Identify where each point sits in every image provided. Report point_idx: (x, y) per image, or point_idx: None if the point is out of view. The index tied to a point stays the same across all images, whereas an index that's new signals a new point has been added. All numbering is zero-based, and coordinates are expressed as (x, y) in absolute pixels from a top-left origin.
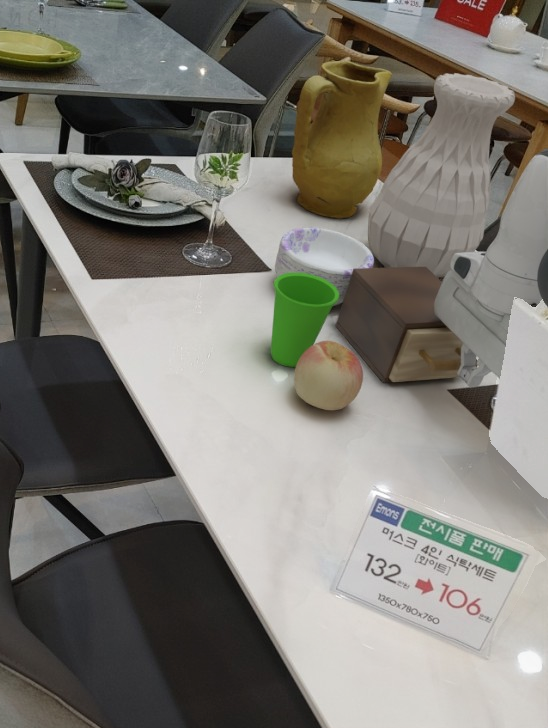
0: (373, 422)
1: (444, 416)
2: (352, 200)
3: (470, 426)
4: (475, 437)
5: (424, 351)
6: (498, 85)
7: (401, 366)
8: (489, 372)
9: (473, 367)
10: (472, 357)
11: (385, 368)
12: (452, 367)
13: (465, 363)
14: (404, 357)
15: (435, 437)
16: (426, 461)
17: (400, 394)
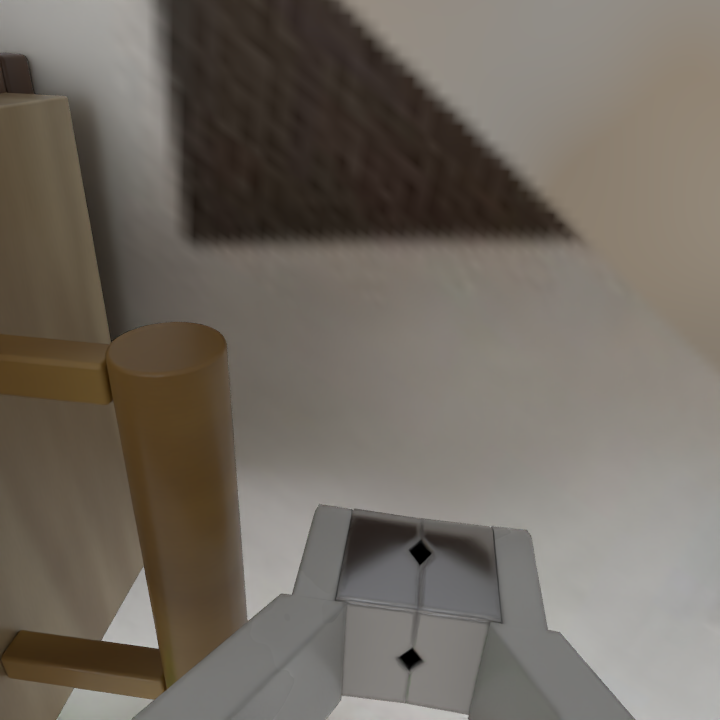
0: (399, 708)
1: (439, 425)
2: None
3: (574, 338)
4: (676, 378)
5: (23, 668)
6: None
7: (99, 632)
8: (623, 714)
9: (376, 634)
10: (283, 707)
11: None
12: (240, 600)
13: (325, 712)
14: (63, 694)
15: (579, 567)
16: (702, 685)
17: None
